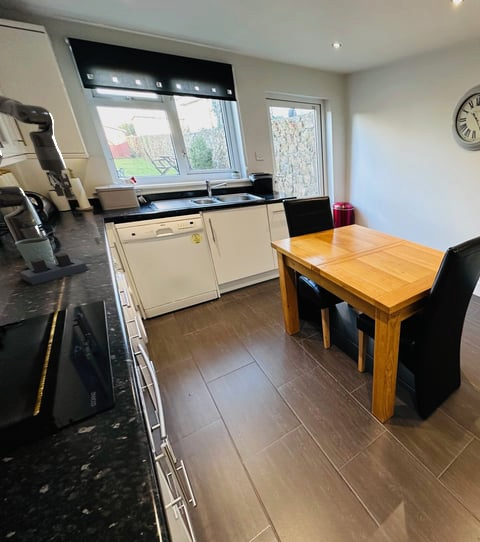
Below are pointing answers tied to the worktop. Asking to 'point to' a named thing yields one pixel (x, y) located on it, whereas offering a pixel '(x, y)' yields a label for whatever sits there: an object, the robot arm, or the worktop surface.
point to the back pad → (63, 260)
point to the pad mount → (53, 272)
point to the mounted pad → (39, 265)
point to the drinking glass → (36, 250)
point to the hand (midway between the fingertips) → (65, 196)
